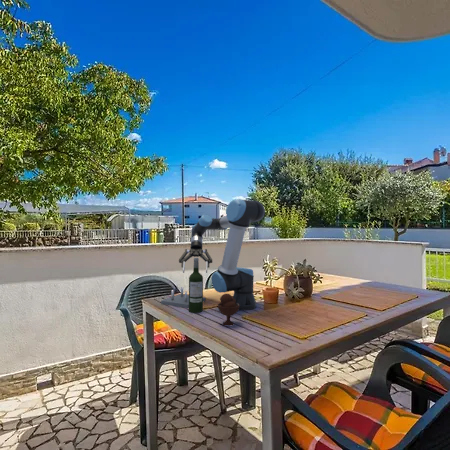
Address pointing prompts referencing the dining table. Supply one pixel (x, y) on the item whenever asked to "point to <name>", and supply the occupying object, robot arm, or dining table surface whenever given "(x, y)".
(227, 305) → the ice cream bowl
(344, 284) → the dining table surface
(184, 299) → the peg stand
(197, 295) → the wine bottle
